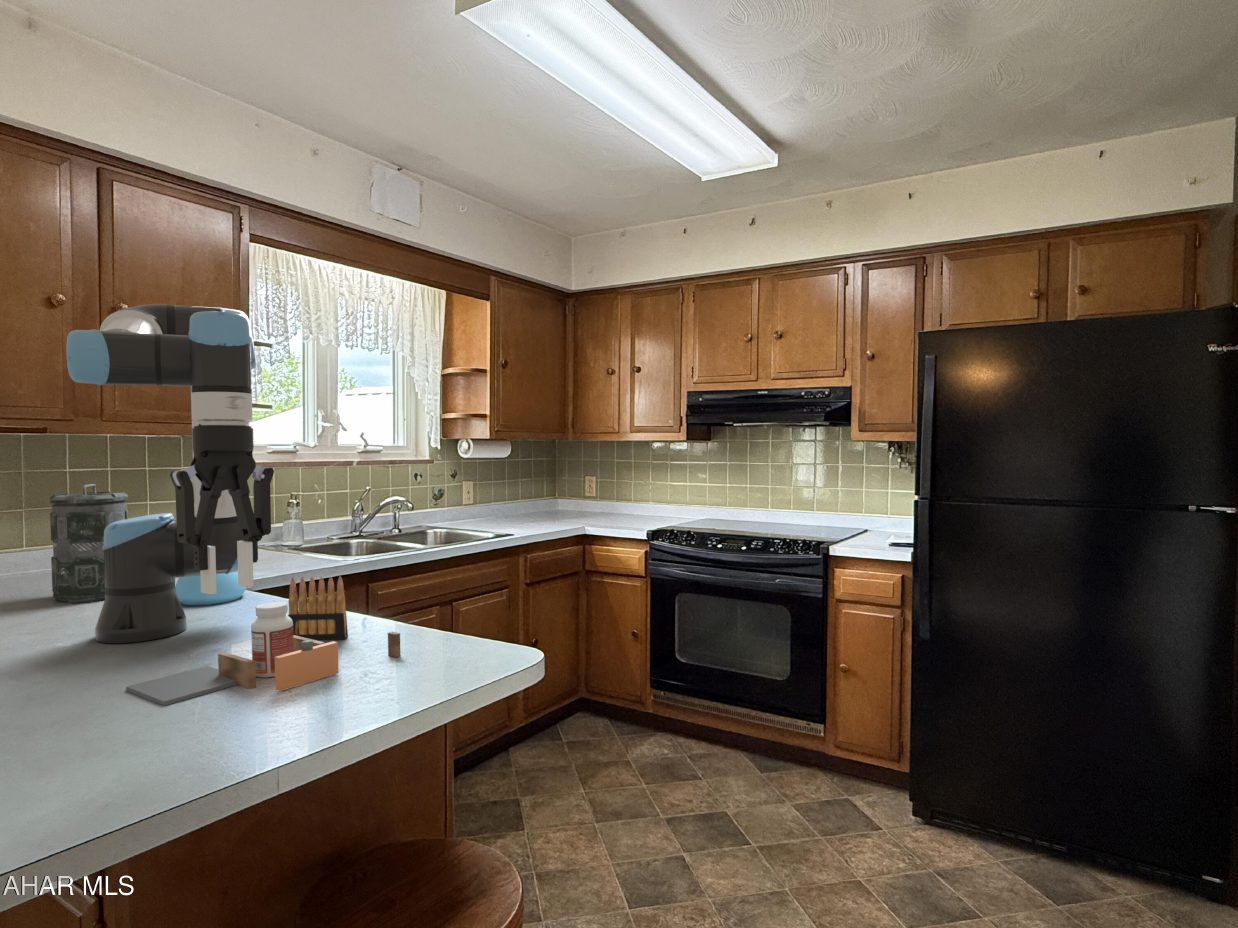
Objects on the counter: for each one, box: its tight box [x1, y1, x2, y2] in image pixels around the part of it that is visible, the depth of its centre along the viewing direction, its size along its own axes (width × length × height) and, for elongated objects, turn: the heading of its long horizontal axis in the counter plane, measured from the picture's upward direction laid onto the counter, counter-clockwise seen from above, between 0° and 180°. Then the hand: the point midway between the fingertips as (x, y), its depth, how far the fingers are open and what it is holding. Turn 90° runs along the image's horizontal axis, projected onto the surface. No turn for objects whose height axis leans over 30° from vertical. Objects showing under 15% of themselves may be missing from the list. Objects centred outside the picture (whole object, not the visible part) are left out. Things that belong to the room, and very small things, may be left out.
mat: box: [125, 665, 238, 706], centre depth 112 cm, size 12×12×1 cm
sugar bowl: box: [175, 572, 247, 606], centre depth 175 cm, size 15×15×12 cm
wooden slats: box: [217, 631, 401, 689], centre depth 121 cm, size 15×24×4 cm, turn 146°
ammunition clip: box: [287, 575, 349, 642], centre depth 138 cm, size 11×2×12 cm, turn 93°
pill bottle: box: [250, 601, 294, 679], centre depth 118 cm, size 6×6×11 cm
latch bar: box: [274, 640, 340, 692], centre depth 113 cm, size 2×10×6 cm, turn 146°
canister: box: [49, 483, 129, 604], centre depth 180 cm, size 16×16×28 cm
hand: (227, 589), depth 103 cm, fingers open, 5 cm apart
